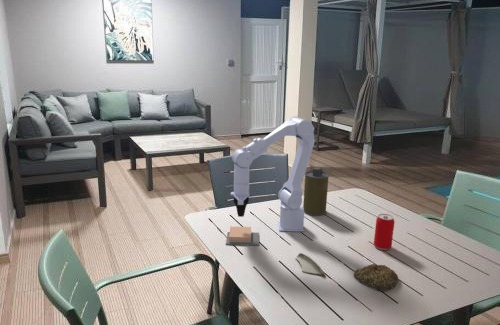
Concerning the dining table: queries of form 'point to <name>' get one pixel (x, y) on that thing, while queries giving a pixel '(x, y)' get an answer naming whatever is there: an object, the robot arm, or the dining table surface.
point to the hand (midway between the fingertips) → (240, 215)
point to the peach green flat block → (240, 234)
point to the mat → (253, 242)
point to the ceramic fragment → (309, 265)
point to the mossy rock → (377, 277)
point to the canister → (315, 192)
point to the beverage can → (384, 231)
